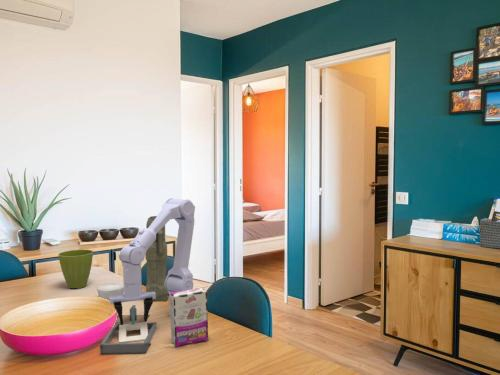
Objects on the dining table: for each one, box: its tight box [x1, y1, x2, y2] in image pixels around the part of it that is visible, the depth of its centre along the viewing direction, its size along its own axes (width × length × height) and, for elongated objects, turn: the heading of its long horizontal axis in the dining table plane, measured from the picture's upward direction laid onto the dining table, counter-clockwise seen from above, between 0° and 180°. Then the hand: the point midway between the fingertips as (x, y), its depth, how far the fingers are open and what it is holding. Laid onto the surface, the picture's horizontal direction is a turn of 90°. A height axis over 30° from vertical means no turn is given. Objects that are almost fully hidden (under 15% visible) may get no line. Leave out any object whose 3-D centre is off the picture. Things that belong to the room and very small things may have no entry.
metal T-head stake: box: [129, 304, 138, 321], centre depth 153 cm, size 2×4×5 cm, turn 2°
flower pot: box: [57, 249, 94, 289], centre depth 198 cm, size 15×15×16 cm
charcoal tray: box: [99, 321, 157, 355], centre depth 137 cm, size 14×17×3 cm
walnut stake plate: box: [114, 314, 151, 326], centre depth 152 cm, size 14×12×1 cm
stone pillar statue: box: [145, 215, 169, 303], centre depth 177 cm, size 9×12×35 cm
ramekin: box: [96, 282, 124, 301], centre depth 181 cm, size 11×11×5 cm
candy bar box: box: [169, 287, 209, 348], centre depth 137 cm, size 11×5×16 cm, turn 117°
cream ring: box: [118, 306, 149, 343], centre depth 140 cm, size 12×9×5 cm
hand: (133, 322), depth 142 cm, fingers open, 7 cm apart
